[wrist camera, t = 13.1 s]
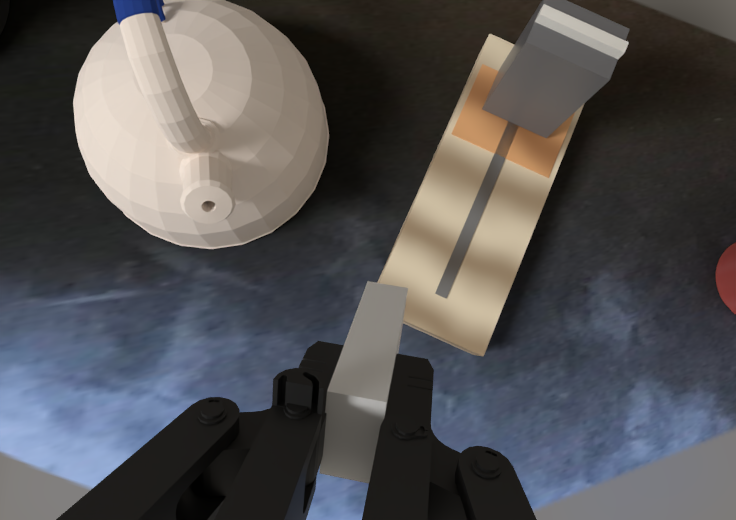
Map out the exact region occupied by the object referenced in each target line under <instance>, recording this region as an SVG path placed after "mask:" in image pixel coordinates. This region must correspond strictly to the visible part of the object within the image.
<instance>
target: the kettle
mask: <svg viewBox="0 0 736 520" xmlns="http://www.w3.org/2000/svg"><path fill="white" fill-rule="evenodd" d="M113 3H114V7H115V12H116V16H117V21H118V22H117V23H115V24H114V25H112V26H111V27H110V29H109V30H108V31H107V32H106V33H105V34H104V35H103V36H102V37H101V38H100V40H99V41H98V42H97V43H96V44H95V45H94V46H93V47H92V49H91V51H90V53H89V55H88V57H87V59H86V61H85V63H84V64H83V66H82V68H81V70H80V72H79V75H78V80H77V85H76V90H75V95H74V100H73V106H74V118H75V129H76V135H77V140H78V146H79V148H80V151H81V154H82V156H83V159H84V161H85V164H86V166H87V169H88V171H89V174H90V176H91V177H92V178H93V180H94V181H95V182H96V183H97V185H98V186H99V187H100V189H101V190H102V191H103V193H104V194H105V195H106V196H107V198H108V199H109V200H110V201H111V202H112V203H113V204H115V205H116V206H117V207H118V208H119V209H120V210H122V211H123V213H124V214H125V215H126V216H127V217H128V218H129V219H131V220H132V221H133V222H135V223H136V224H138V225H139V226H140V227H142V228H143V229H144V230H146V231H147V232H148V233H150V234H151V235H154V236H157V237H159V238H162V239H164V240H167V241H170V242H172V243H175V244H177V245H180V246H188V247H198V248H207V249H215V248H222V247H229V246H236V245H243V244H245V243H248V242H250V241H253V240H255V239H257V238H260V237H262V236H264V235H267V234H269V233H272V232H273V231H274V230H276V229H277V228H278V227H280V226H281V225H282V224H284V223H285V222H286V221H287V220H289V219H290V218H291V217H293V216H294V215H295V214H297V212H298V211H299V210H300V208H301V207H302V206H303V205H304V203H305V202H306V201H307V199H308V198H309V197H310V195H311V194H312V193H313V192H314V190H315V188H316V186H317V183H318V181H319V178H320V176H321V174H322V171H323V169H324V166H325V164H326V157H327V149H328V141H329V130H328V124H327V117H326V111H325V106H324V104H323V102H322V99H321V95H320V91H319V88H318V85H317V83H316V81H315V79H314V76H313V74H312V72H311V70H310V68H309V65H308V63H307V61H306V59H305V58H304V57H303V56H302V55H301V53H300V52H299V51H298V50H297V49H296V47H295V46H294V45H293V44H292V43H291V41H290V40H289V39H288V38H287V37H286V36H285V35H284V34H282V33H281V32H280V31H279V30H277V29H276V28H275V27H274V26H272V25H271V24H269V23H268V22H267V21H265V20H264V19H262V18H261V17H260V16H258V15H257V14H255V13H254V12H253V11H251V10H248V9H246V8H243V7H240V6H238V5H235V4H233V3H230V2H228V1H225V0H113Z"/></svg>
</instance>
